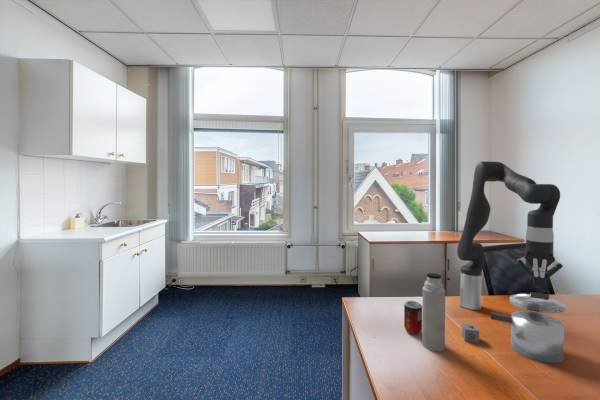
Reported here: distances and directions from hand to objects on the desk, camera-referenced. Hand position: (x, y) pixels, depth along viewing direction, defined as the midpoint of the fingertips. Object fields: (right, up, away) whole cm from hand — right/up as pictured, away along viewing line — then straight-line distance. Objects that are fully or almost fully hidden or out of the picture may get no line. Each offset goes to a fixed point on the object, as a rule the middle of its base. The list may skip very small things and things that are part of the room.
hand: (538, 286), depth 101 cm
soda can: (-38, -25, +18) cm, 49 cm away
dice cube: (-17, -25, +12) cm, 33 cm away
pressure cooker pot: (0, -25, +6) cm, 26 cm away
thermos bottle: (-35, -25, +8) cm, 44 cm away
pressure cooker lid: (+2, -8, +3) cm, 9 cm away
